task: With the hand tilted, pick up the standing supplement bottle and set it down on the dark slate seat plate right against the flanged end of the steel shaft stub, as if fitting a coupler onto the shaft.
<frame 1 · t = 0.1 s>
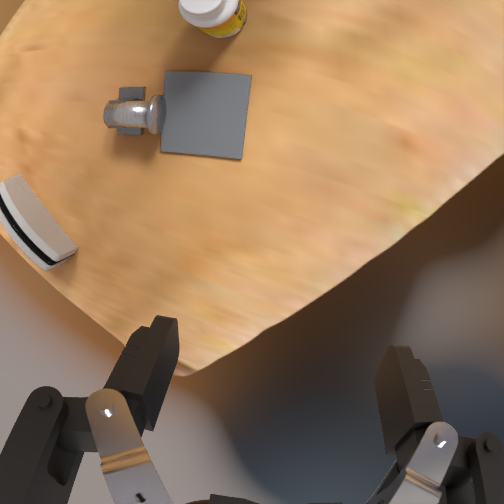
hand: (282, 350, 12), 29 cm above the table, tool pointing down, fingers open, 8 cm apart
grey rounded slab: (45, 212, 44), on the table
shaft stub: (141, 110, 35), on the table
supplement bottle: (223, 17, 29), on the table
seat plate: (203, 113, 35), on the table
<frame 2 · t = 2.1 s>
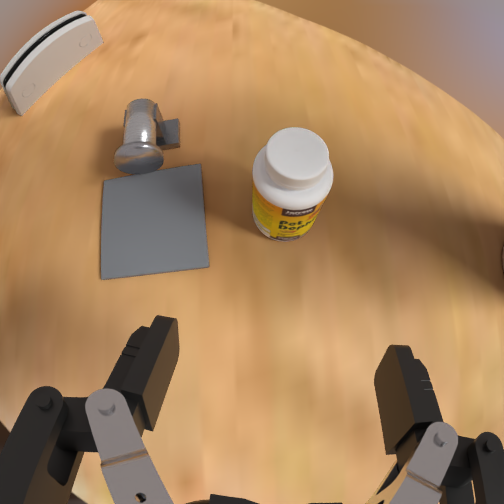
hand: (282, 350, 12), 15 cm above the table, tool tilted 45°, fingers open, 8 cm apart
grey rounded slab: (60, 76, 36), on the table
shaft stub: (151, 148, 31), on the table
supplement bottle: (283, 214, 29), on the table
seat plate: (151, 220, 29), on the table
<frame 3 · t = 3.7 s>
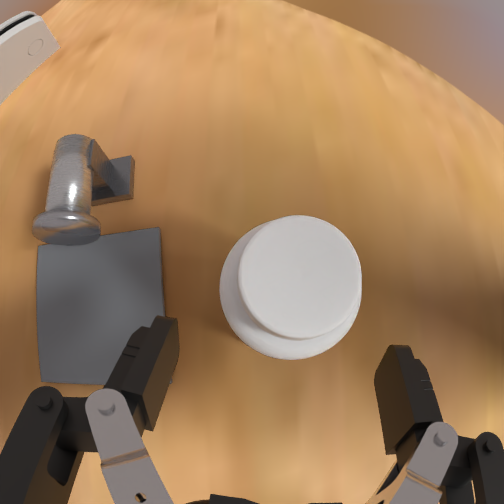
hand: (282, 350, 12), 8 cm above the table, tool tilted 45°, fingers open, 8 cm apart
grey rounded slab: (10, 92, 27), on the table
shaft stub: (96, 200, 22), on the table
supplement bottle: (277, 308, 20), on the table
seat plate: (95, 309, 20), on the table
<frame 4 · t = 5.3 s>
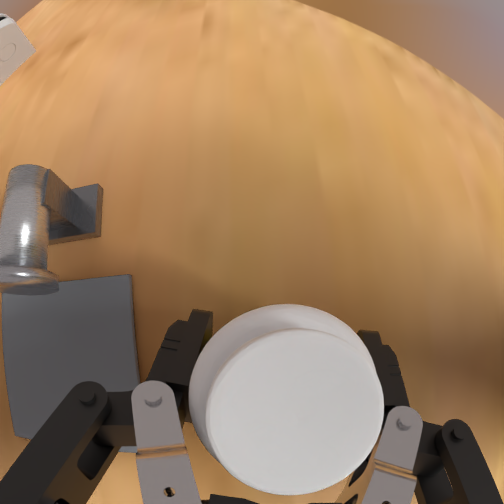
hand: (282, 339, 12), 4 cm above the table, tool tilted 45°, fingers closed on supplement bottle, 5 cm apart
shaft stub: (61, 237, 18), on the table
supplement bottle: (270, 372, 16), on the table, touching gripper
seat plate: (63, 366, 16), on the table
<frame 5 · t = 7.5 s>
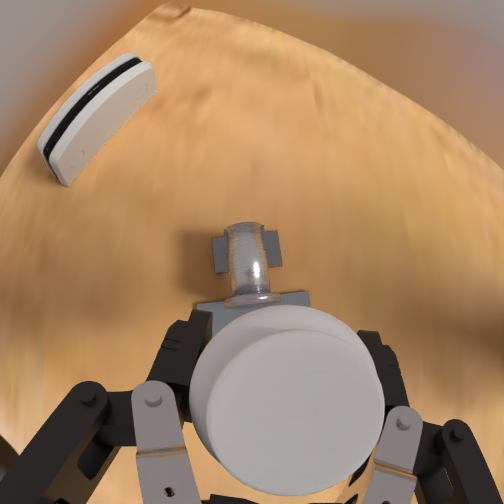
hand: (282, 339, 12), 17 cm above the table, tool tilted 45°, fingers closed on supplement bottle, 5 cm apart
grey rounded slab: (108, 133, 35), on the table
shaft stub: (248, 265, 30), on the table
supplement bottle: (270, 373, 16), point 12 cm above the table, touching gripper
seat plate: (258, 353, 28), on the table
when the fingers open (5 cm above the table, at t = 10.1 s): supplement bottle stays where it is, resting on seat plate.
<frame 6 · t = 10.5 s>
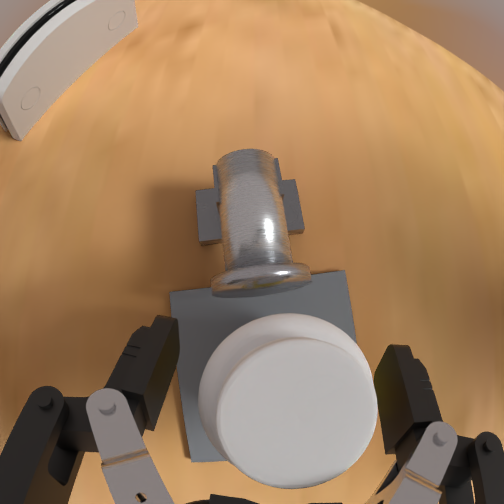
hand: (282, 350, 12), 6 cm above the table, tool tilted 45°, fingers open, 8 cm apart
grey rounded slab: (75, 76, 24), on the table
shaft stub: (251, 232, 19), on the table
supplement bottle: (272, 375, 17), resting on seat plate
seat plate: (269, 371, 17), on the table
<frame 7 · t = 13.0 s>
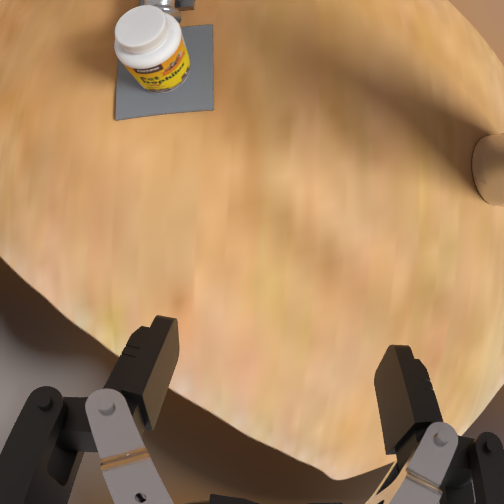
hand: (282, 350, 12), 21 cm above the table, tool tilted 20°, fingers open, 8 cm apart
shaft stub: (167, 9, 27), on the table
supplement bottle: (165, 71, 28), resting on seat plate
seat plate: (164, 69, 28), on the table
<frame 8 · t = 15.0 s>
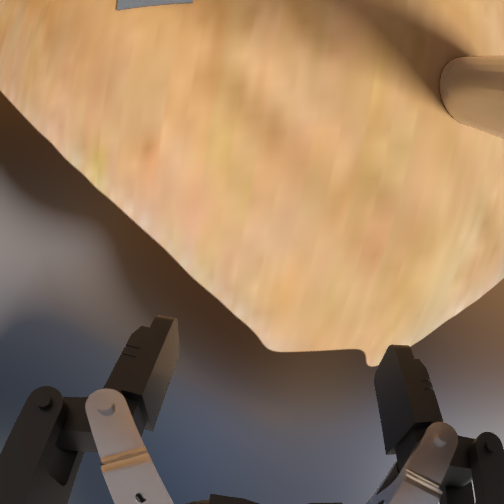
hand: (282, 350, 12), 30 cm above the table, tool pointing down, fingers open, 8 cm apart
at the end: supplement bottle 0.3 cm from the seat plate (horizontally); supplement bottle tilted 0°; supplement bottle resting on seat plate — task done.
